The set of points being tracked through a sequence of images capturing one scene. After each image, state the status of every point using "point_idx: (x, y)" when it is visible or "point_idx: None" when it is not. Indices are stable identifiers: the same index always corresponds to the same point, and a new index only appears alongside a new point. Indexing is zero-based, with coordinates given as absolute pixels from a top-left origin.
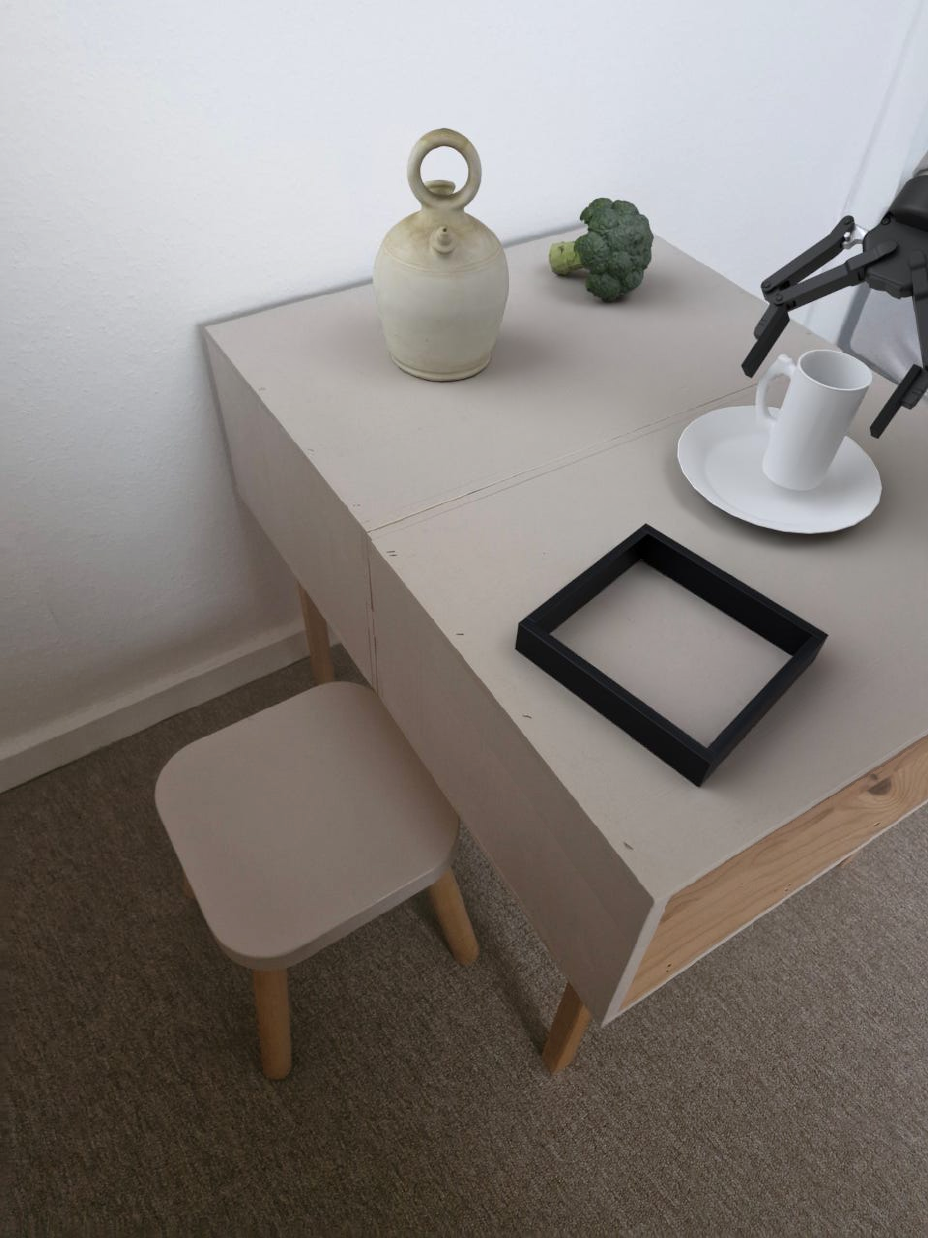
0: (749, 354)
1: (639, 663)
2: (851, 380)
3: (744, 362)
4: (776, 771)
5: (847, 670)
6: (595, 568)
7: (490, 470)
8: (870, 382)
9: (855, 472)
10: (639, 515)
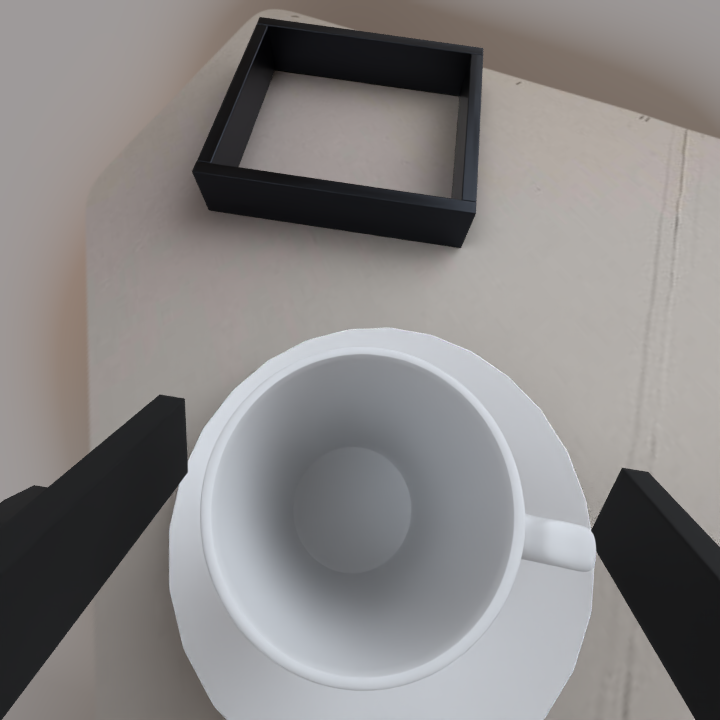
0: (673, 503)
1: (368, 127)
2: (299, 623)
3: (651, 479)
4: (212, 97)
5: (170, 218)
6: (473, 126)
7: (701, 266)
8: (204, 486)
9: (236, 634)
10: (499, 302)
